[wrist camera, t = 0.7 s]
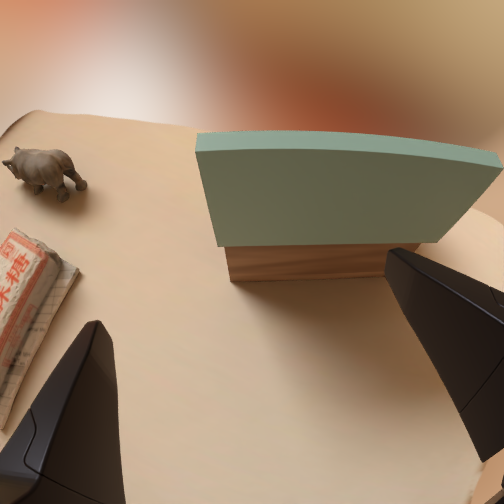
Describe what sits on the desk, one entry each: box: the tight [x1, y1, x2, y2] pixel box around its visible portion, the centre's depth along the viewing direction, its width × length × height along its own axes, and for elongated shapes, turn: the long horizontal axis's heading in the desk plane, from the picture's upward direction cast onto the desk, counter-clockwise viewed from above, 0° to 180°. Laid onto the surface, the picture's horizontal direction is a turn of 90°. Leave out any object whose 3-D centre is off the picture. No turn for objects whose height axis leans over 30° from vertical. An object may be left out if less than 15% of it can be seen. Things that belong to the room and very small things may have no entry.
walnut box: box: [224, 243, 421, 282], centre depth 24 cm, size 8×14×7 cm, turn 91°
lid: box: [195, 131, 504, 247], centre depth 15 cm, size 8×14×1 cm
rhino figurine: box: [2, 147, 87, 203], centre depth 30 cm, size 4×14×6 cm, turn 72°
